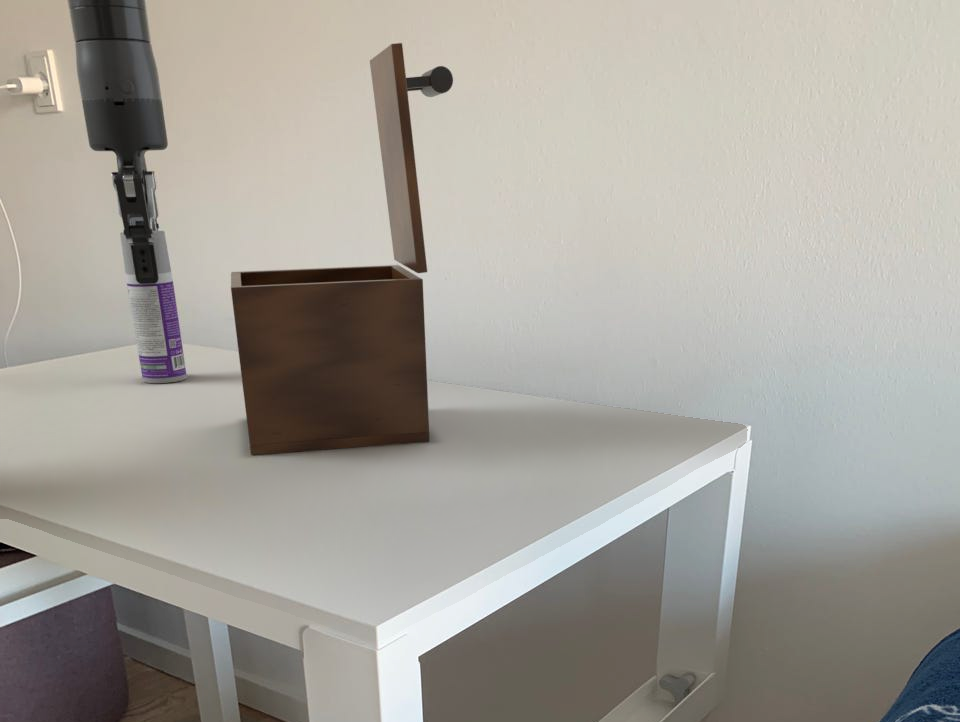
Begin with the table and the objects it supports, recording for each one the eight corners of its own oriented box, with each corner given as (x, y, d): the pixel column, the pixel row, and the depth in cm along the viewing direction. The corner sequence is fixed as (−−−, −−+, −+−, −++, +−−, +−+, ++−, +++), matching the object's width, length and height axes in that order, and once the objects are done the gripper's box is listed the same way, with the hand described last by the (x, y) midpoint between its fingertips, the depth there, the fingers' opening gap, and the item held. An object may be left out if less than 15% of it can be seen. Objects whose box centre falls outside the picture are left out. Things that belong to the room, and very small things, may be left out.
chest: (251, 455, 81) (230, 287, 75) (248, 420, 92) (230, 271, 86) (429, 441, 83) (422, 279, 78) (406, 409, 94) (398, 264, 89)
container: (175, 373, 113) (154, 230, 107) (194, 378, 110) (173, 231, 103) (135, 379, 110) (111, 232, 104) (153, 385, 107) (129, 234, 101)
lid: (391, 43, 71) (460, 37, 71) (369, 60, 82) (429, 54, 83) (417, 273, 78) (480, 265, 78) (394, 259, 89) (449, 253, 89)
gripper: (90, 101, 104) (119, 275, 111) (71, 92, 91) (105, 289, 99) (165, 100, 105) (189, 272, 113) (156, 91, 93) (183, 286, 100)
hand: (149, 279), depth 106 cm, fingers closed on container, 4 cm apart
